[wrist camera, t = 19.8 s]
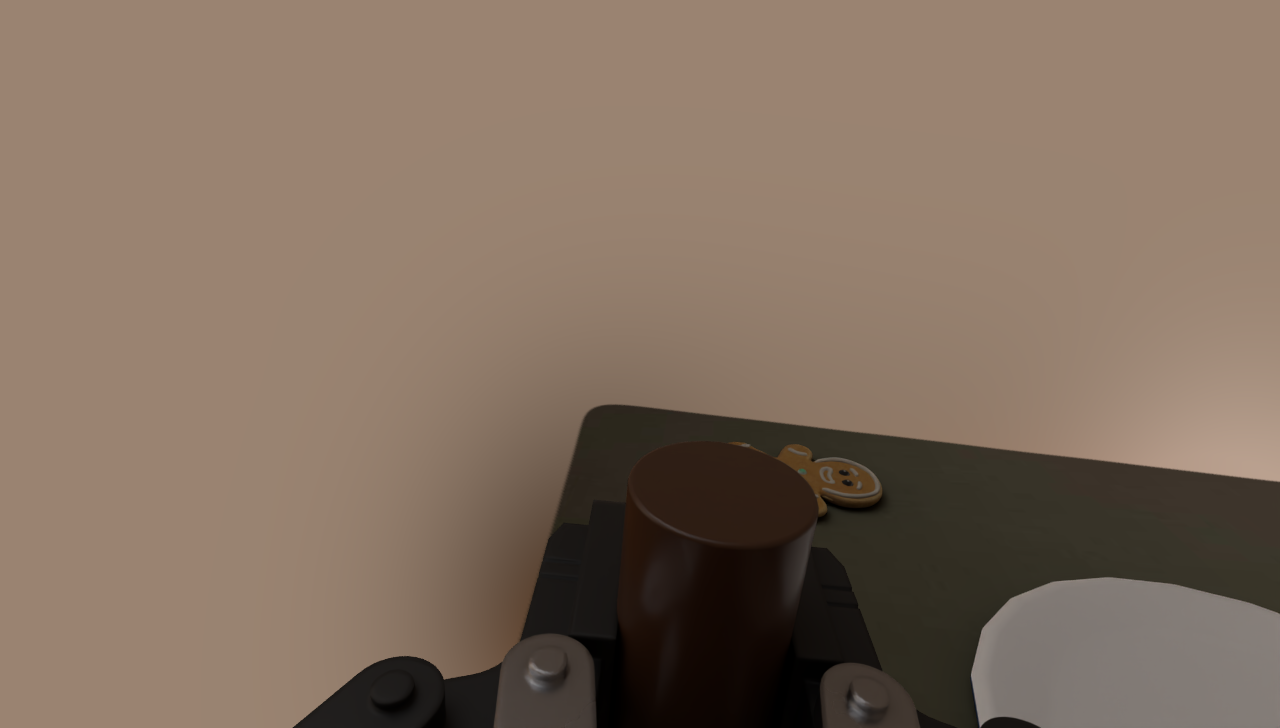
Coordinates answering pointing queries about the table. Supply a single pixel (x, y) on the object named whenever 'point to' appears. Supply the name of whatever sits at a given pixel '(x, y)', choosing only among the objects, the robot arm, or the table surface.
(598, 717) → the robot arm
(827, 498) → the cookie
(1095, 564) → the table surface
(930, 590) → the table surface
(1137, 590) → the plate
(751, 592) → the knife
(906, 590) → the table surface
